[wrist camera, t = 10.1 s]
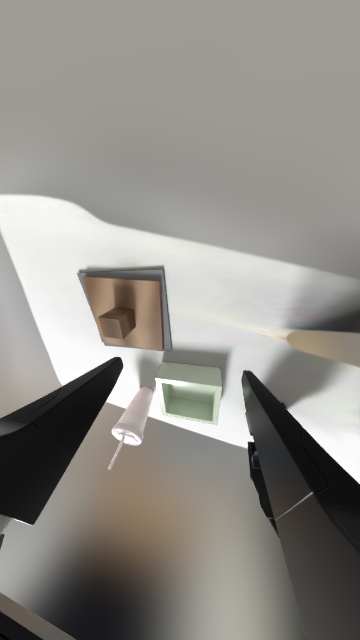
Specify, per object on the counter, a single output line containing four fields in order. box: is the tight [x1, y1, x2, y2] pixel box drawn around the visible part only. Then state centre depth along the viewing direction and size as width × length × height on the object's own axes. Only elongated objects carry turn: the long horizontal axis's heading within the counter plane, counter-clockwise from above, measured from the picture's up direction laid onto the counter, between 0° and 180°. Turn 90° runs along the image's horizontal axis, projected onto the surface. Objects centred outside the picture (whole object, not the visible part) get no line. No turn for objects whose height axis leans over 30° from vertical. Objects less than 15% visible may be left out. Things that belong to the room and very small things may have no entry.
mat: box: [77, 269, 172, 351], centre depth 24 cm, size 15×15×1 cm
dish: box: [155, 362, 222, 425], centre depth 28 cm, size 12×12×4 cm
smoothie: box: [108, 387, 153, 470], centre depth 28 cm, size 6×6×14 cm
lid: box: [82, 276, 164, 351], centre depth 22 cm, size 13×13×5 cm
